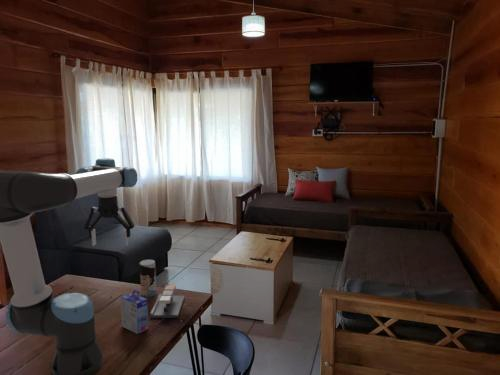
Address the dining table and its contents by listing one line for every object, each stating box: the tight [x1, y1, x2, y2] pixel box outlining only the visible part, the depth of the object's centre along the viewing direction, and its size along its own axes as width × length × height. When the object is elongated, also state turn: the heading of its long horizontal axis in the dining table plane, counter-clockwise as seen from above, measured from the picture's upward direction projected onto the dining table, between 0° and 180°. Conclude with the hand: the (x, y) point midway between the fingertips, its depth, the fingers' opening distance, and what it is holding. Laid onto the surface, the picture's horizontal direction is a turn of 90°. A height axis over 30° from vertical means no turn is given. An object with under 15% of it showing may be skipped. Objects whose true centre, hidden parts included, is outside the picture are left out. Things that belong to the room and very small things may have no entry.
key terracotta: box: [163, 284, 176, 293], centre depth 165 cm, size 4×4×1 cm
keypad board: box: [149, 293, 185, 319], centre depth 161 cm, size 17×11×2 cm, turn 1°
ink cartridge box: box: [120, 289, 149, 335], centre depth 145 cm, size 10×6×14 cm, turn 54°
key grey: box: [161, 290, 174, 298], centre depth 160 cm, size 4×4×1 cm
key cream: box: [159, 296, 171, 304], centre depth 155 cm, size 4×4×1 cm
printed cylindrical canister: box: [139, 259, 157, 298], centre depth 173 cm, size 7×7×15 cm
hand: (110, 244), depth 162 cm, fingers open, 13 cm apart
